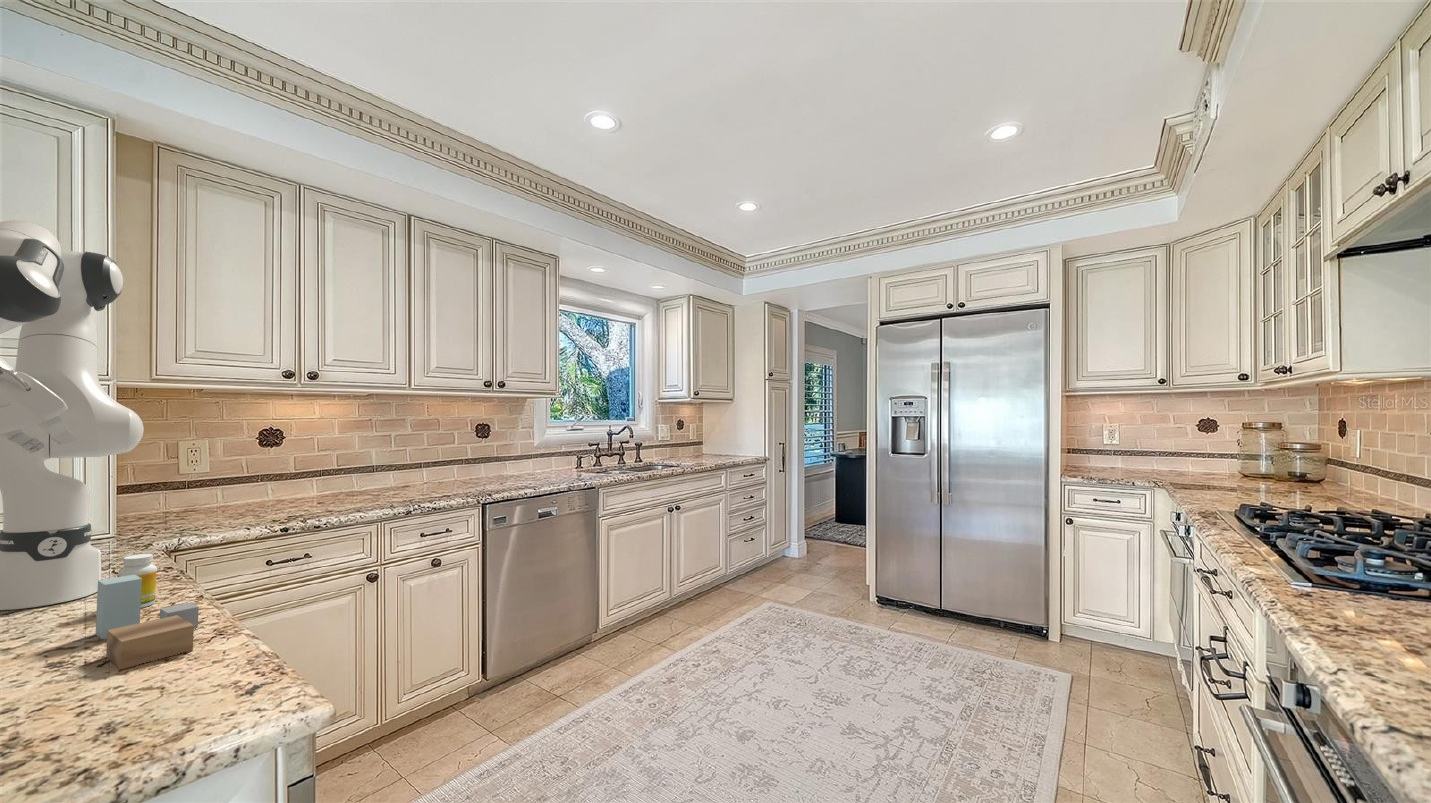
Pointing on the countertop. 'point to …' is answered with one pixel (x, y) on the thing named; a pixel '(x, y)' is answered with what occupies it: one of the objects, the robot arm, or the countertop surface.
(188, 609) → the block
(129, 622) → the pillar
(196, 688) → the countertop surface
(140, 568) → the supplement bottle
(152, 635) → the plinth
